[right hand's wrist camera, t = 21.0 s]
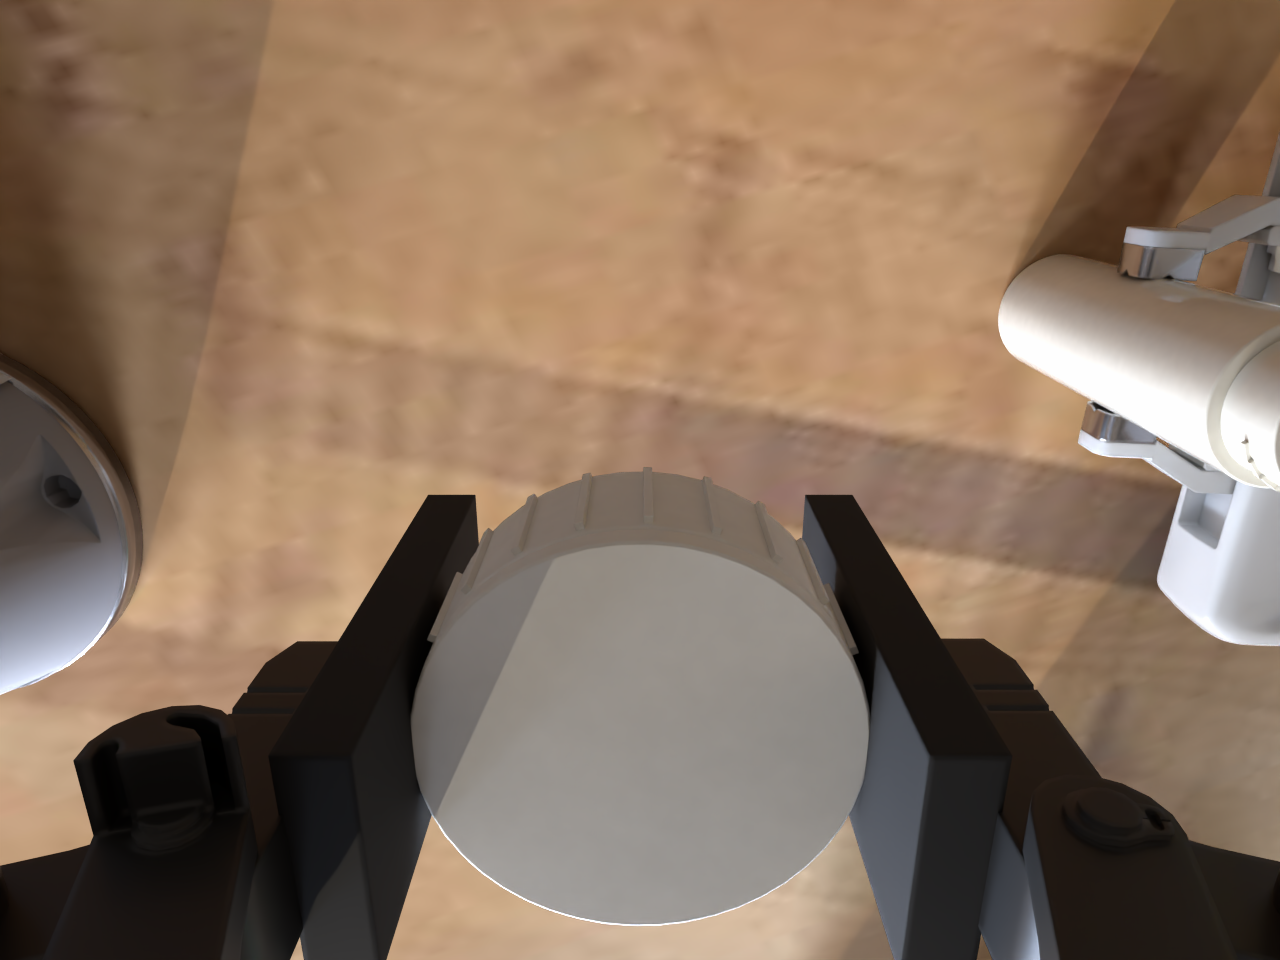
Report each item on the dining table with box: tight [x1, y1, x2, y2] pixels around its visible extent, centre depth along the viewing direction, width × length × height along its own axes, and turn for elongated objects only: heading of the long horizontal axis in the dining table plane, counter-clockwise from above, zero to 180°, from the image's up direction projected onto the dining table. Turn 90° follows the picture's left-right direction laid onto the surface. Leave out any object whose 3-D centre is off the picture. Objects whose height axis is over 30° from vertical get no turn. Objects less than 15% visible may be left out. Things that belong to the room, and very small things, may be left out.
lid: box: [411, 467, 870, 926], centre depth 11 cm, size 6×6×2 cm
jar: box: [998, 254, 1280, 492], centre depth 27 cm, size 4×4×16 cm
